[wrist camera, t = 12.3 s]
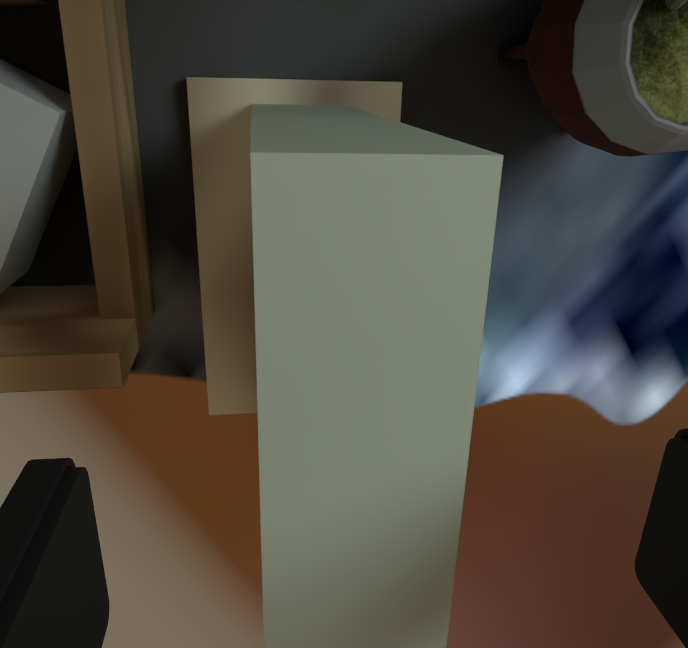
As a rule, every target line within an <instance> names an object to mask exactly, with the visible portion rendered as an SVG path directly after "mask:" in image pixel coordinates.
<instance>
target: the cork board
mask: <svg viewBox="0 0 688 648" xmlns="http://www.w3.org/2000/svg"><path fill="white" fill-rule="evenodd" d="M186 78H187V93H188V108H189V124H190V139H191V154H192V169H193V184H194V199H195V214H196V229H197V244H198V259H199V274H200V289H201V304H202V319H203V334H204V349H205V364H206V379H207V392H208V393H207V394H208V410H209V415H227V414H248V413H258V408H257V373H256V337H255V302H254V266H253V231H252V196H251V160H250V145H251V112H252V103H254V104H299V105H344V106H350V107H353V108H357V109H360V110H363V111H366V112H369V113H372V114H375V115H379V116H382V117H385V118H388V119H391V120H394V121H397V122H400V117H401V98H402V82H381V81H337V80H293V79H249V78H205V77H186Z"/></svg>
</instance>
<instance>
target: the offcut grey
mask: <svg viewBox="0 0 688 648" xmlns="http://www.w3.org/2000/svg"><path fill="white" fill-rule="evenodd" d="M77 148H78V147H77V139H76V131H75V124H74V116H73V108H72V101H71V94H69V93H67V92H65V91H63V90H61V89H59V88H57V87H55V86H53V85H51V84H49V83H47V82H45V81H43V80H41V79H39V78H37V77H35V76H33V75H31V74H29V73H27V72H25V71H23V70H21V69H19V68H17V67H16V66H14V65H12V64H10V63H8V62H6V61H4V60H2V59H0V295H1V294H2V293H3V292H4V291H5V290H6V289H7V288H9V287H10V286H11V285H12V284H13V283H14V282H15V281H17V280H18V279H19V278H20V277H21V276H22V275H23V274H25V273H26V272H27V271H28V270H29V269H30V267H31V264H32V262H33V259H34V257H35V254H36V252H37V249H38V246H39V244H40V241H41V239H42V236H43V234H44V231H45V229H46V226H47V224H48V221H49V219H50V216H51V214H52V211H53V208H54V206H55V203H56V201H57V198H58V196H59V193H60V191H61V188H62V186H63V183H64V181H65V178H66V176H67V173H68V170H69V168H70V165H71V163H72V160H73V158H74V155H75V153H76V150H77Z"/></svg>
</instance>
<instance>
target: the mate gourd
mask: <svg viewBox="0 0 688 648" xmlns="http://www.w3.org/2000/svg"><path fill="white" fill-rule="evenodd" d="M499 62H500V64H501V65H512V64H525V63H528V68H529V73H530V76H531V79H532V81H533V83H534V86H535V88H536V91H537V93H538V95H539V98H540V100H541V103H542V105H543V107H544V108H545V109H546V110H547V112H548V113H549V114H550V115H551V116H552V117H553V118H554V119H555V120H556V121H557V122H558V123H559V124H560V125H561V128H562V129H564V130H566V131H567V132H568V133H569V134H570V135H571V136H572V137H573V138H574V139H576V140H578V141H580V142H582V143H584V144H587V145H589V146H592V147H595V148H598V149H601V150H603V151H606V152H609V153H612V154H615V155H617V156H639V155H649V154H658V153H668V152H675V151H684V150H688V0H544V1H543V3H542V6H541V8H540V10H539V12H538V15H537V17H536V19H535V22H534V24H533V26H532V29H531V32H530V36H529V39H528V41H516V42H509V43H503V44H501V45H500V47H499Z"/></svg>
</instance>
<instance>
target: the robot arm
mask: <svg viewBox="0 0 688 648" xmlns="http://www.w3.org/2000/svg"><path fill="white" fill-rule="evenodd" d="M635 571H636V575H637V578H638V581H639V582H640V584H641V586H642V587H643V589H644V590H645V591H646V593H647V594H648V596H649V597H650V598H651V600H652V601H653V603H654V604H655V605H656V607H657V608H658V610H659V611H660V612H661V614H662V615H663V616H664V618H665V619H666V621H667V622H668V624H669V625H670V626H671V628H672V629H673V630H674V632H675V633H676V635H677V636H678V638H679V639H680V640H681V642H682V643H683V644H684V646H685V647H686V648H688V429H682V430H679V431H678V432H677V434H676V435H675V437H674V438H673V439H670V440H669V441H668V443H667V445H666V448H665V452H664V456H663V459H662V463H661V467H660V471H659V474H658V478H657V482H656V485H655V489H654V493H653V496H652V500H651V504H650V507H649V511H648V515H647V519H646V522H645V526H644V530H643V534H642V537H641V541H640V544H639V548H638V552H637V556H636V559H635ZM108 619H109V597H108V591H107V585H106V579H105V574H104V567H103V561H102V555H101V549H100V543H99V537H98V531H97V524H96V518H95V512H94V506H93V500H92V494H91V488H90V482H89V476H88V472H87V470H86V468H85V467H75V464H74V462H73V460H72V459H71V458H58V459H37V460H30V461H28V462H27V464H26V465H25V466H24V468H23V470H22V472H21V474H20V475H19V477H18V479H17V480H16V482H15V484H14V485H13V487H12V489H11V491H10V492H9V494H8V496H7V497H6V499H5V501H4V503H3V504H2V506H1V508H0V648H101V647H102V644H103V640H104V636H105V633H106V629H107V625H108Z"/></svg>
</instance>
